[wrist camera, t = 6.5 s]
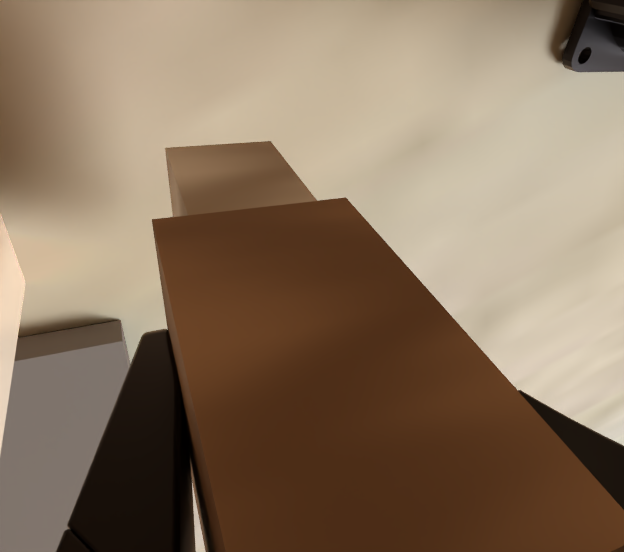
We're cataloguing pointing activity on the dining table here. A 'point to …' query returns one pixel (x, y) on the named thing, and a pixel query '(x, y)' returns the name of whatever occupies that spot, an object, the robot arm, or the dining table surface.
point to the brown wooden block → (344, 385)
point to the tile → (8, 317)
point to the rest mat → (55, 428)
